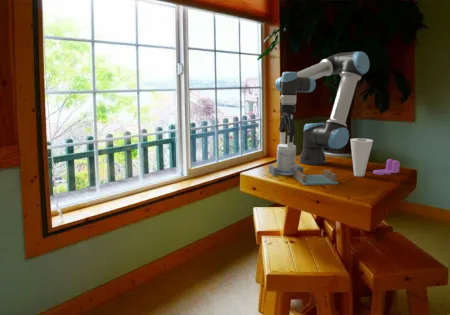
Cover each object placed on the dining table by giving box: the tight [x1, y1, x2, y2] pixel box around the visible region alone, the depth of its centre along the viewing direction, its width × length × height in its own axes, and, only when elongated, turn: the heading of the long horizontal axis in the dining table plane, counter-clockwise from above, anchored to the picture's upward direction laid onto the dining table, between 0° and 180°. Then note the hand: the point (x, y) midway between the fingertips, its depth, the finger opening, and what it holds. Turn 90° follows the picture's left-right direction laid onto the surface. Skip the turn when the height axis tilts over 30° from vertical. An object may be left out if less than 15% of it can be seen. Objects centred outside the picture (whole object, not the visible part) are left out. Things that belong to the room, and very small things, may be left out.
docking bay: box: [293, 169, 339, 186], centre depth 185 cm, size 16×16×4 cm
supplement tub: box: [275, 143, 297, 177], centre depth 197 cm, size 10×10×15 cm
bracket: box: [372, 158, 401, 176], centre depth 202 cm, size 13×6×7 cm, turn 108°
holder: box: [268, 163, 304, 177], centre depth 198 cm, size 15×10×4 cm, turn 98°
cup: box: [349, 138, 374, 178], centre depth 195 cm, size 11×11×18 cm
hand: (286, 146), depth 196 cm, fingers open, 13 cm apart
